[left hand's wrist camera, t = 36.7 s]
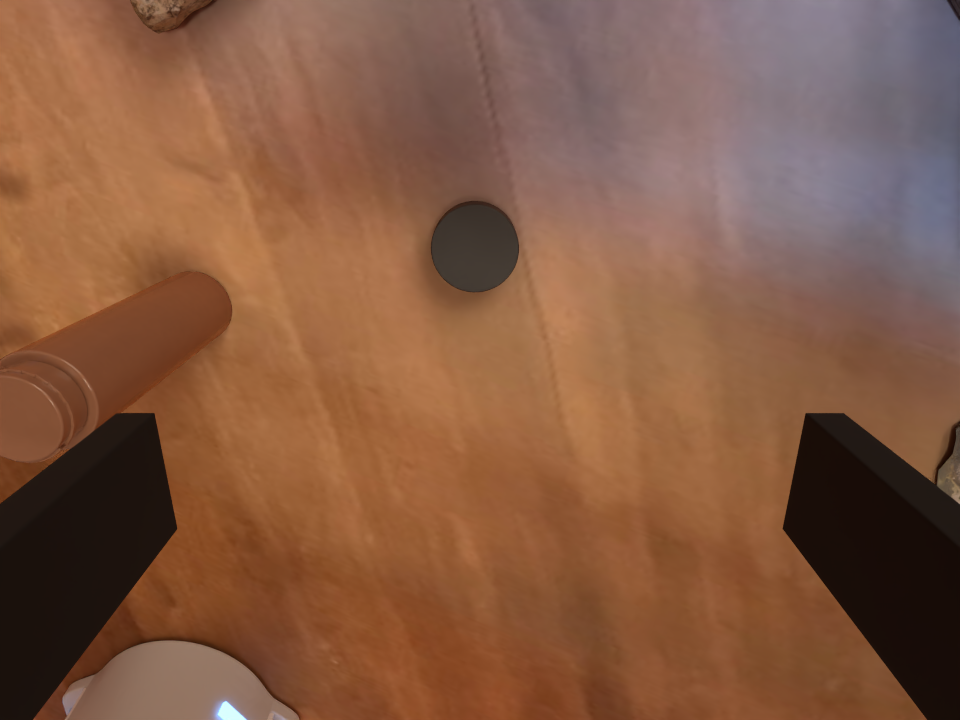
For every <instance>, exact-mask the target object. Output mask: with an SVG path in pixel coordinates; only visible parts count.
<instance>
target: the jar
mask: <svg viewBox="0 0 960 720" xmlns="http://www.w3.org/2000/svg"><path fill="white" fill-rule="evenodd" d="M231 314H232V308H231V302H230V299H229V297H228V295H227V293H226V291H225V290H224V288H223V287H222V286H221V285H220V284H219V283H218V282H217V281H216V280H214V279H213V278H211V277H209V276H207V275H205V274H202V273H199V272H191V271H189V272H182V273H178V274H176V275H174V276H172V277H170V278H167V279H165V280H163V281H161V282H159V283H157V284H155V285H153V286H151V287H149V288H147V289H144V290H142V291H140V292H138V293H136V294H134V295H132V296H130V297H128V298H126V299H124V300H121V301H119V302H117V303H115V304H113V305H111V306H109V307H107V308H105V309H103V310H101V311H98V312H96V313H94V314H92V315H90V316H88V317H86V318H84V319H82V320H80V321H78V322H75V323H73V324H71V325H69V326H67V327H65V328H63V329H61V330H59V331H57V332H55V333H52V334H50V335H48V336H46V337H44V338H42V339H40V340H38V341H36V342H34V343H31V344H29V345H27V346H25V347H23V348H21V349H19V350H17V351H15V352H13V353H11V354H9V355H7V356H5V357H3V358H2V359H1V360H0V456H2V457H5V458H7V459H11V460H15V461H16V462H27V463H34V462H42V461H45V460H47V459H50V458H52V457H53V456H55V455H56V454H57V453H58V452H60V451H61V450H64V449H69V448H72V447H74V446H75V445H76V444H78V443H79V442H80V441H81V440H83V439H84V438H85V437H87V436H88V435H89V434H90V433H92V432H93V431H94V430H96V429H97V428H98V427H99V426H101V425H102V424H103V423H104V422H106V421H107V420H108V419H110V418H111V417H112V416H113V415H115V414H116V413H121V412H123V411H124V410H125V409H127V408H128V407H129V406H130V405H132V404H133V403H134V402H135V401H137V400H138V399H139V398H140V397H142V396H143V395H144V394H145V393H147V392H148V391H149V390H151V389H152V388H153V387H154V386H156V385H157V384H158V383H159V382H161V381H162V380H163V379H164V378H166V377H167V376H168V375H170V374H171V373H172V372H173V371H175V370H176V369H177V368H178V367H180V366H181V365H182V364H183V363H185V362H186V361H187V360H189V359H190V358H191V357H192V356H194V355H195V354H196V353H197V352H199V351H200V350H201V349H202V348H204V347H205V346H206V345H207V344H209V343H210V342H211V341H213V340H214V339H215V338H216V337H218V336H219V335H220V334H221V333H222V332H224V331H225V329H226V328H227V326H228V325H229V322H230V320H231Z"/></svg>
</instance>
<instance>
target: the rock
mask: <svg viewBox="0 0 960 720" xmlns="http://www.w3.org/2000/svg"><path fill="white" fill-rule="evenodd" d="M130 1H131V4H132V6H133V8H134V10H135V12H136V14H137V15H138V16H139V18H140V19H141V20H142V22H143V23H144V24H145V25H146V26H147V27H148V28H150V29H152V30H153V31H155V32H157V33H161V32H164V31H167V30H170V29H174V28H178V26H179V25H180V24H181V23H182V22H183V21H184V19H185V18H186V17H187V16H188V15H190V14H191V13H192V12H193V11H195V10H197V9H200V8H202V7H204V6H206V5H207V4H209V3H210V2H211V1H212V0H130Z"/></svg>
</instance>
